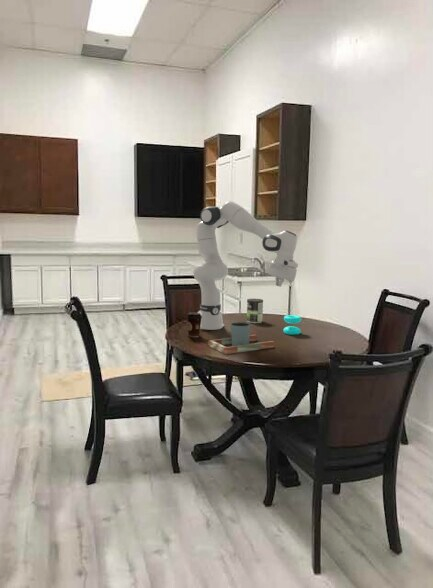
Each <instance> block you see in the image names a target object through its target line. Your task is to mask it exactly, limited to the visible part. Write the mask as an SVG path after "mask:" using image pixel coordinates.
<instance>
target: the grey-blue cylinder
mask: <svg viewBox="0 0 433 588" xmlns="http://www.w3.org/2000/svg"><path fill="white" fill-rule="evenodd" d="M250 331H251V323H249V322H247V321H246V322H243V321H239V322H237V321H236V322H235V321H234V322H231V323H230V333H231V338H232V344H231V346H238V345H245V344H250V341H249V337H250V335H251V332H250Z"/></svg>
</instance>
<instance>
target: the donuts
mask: <svg viewBox="0 0 433 588" xmlns="http://www.w3.org/2000/svg"><path fill="white" fill-rule="evenodd" d="M283 320H284V322H285V323H288V324H299V323H300V322H302V317H301V316H299V315H295V314H287V315H284V317H283ZM301 330H302V329H301V328H300V327H298V326H294V325H293V326H292V325H291V326H290V325H289V326H285V327H284V328H283V334H286V335H289V336H290V335H291V336H297V335H300V334H301V332H302V331H301Z"/></svg>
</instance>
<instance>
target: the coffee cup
mask: <svg viewBox="0 0 433 588" xmlns="http://www.w3.org/2000/svg"><path fill="white" fill-rule="evenodd" d="M185 317H186V318H187V320H186V325H187V333H188V334H187V335H188V337H190V338H200V336H201V335H200V333H201V329H200V325H201V318H202V316H201V314H200V313H198V312H193V311H192V312H188V313H187V314H186V316H185Z"/></svg>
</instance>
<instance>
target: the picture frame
mask: <svg viewBox="0 0 433 588" xmlns="http://www.w3.org/2000/svg"><path fill="white" fill-rule="evenodd" d="M249 335H250V337H249V342H253V343H249V344H245V345H238V346H232V337H226V338H225V337H224V338H218V339H217V338H216V339H210V340H208V344H207V345H208V347H210V348H211V349H213V350H216V351H218V352H220V353H223V354H224V355H230V354H236V353H237V354H238V353H243V352H251V351H256V350H257V351H258V350H263V349H264V350H265V349H271V348H274V347H275V341H274V340H270V341H261V342H255V341H258V335H257V334H249ZM254 342H255V343H254ZM225 345H231V346H225Z"/></svg>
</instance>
